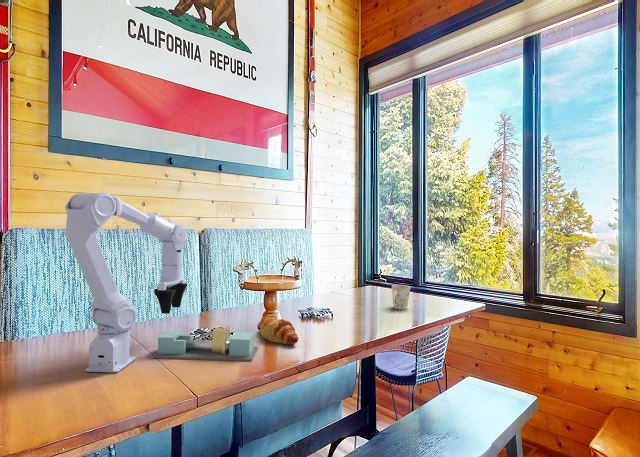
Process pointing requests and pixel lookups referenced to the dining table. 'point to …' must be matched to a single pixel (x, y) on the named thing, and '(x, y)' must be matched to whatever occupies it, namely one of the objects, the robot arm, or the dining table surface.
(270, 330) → the croissant
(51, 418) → the dining table surface
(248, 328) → the dining table surface
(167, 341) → the guide
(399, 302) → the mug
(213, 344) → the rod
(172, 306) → the robot arm
